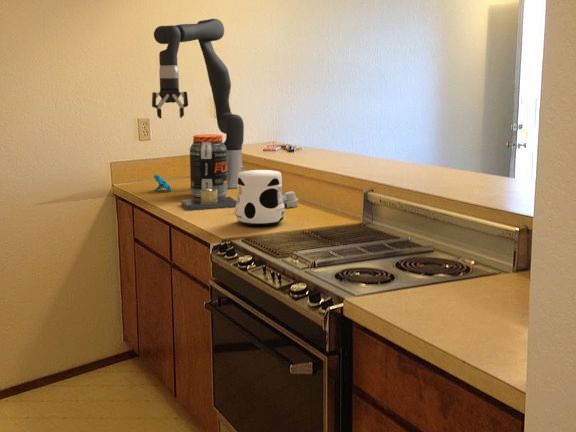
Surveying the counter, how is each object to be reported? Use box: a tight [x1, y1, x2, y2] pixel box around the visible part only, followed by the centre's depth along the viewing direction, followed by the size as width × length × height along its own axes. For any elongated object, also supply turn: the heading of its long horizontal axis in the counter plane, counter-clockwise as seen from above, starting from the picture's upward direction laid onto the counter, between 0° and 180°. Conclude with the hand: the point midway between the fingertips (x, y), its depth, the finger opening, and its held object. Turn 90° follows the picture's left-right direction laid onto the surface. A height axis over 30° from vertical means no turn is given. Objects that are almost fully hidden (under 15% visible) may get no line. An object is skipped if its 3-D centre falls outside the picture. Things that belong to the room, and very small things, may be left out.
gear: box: [153, 173, 172, 193], centre depth 315 cm, size 11×6×10 cm
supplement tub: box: [189, 133, 228, 199], centre depth 302 cm, size 16×16×26 cm
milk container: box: [235, 169, 286, 227], centre depth 249 cm, size 17×17×18 cm
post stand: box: [180, 189, 237, 211], centre depth 282 cm, size 20×12×6 cm, turn 110°
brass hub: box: [200, 188, 218, 202], centre depth 281 cm, size 6×6×4 cm
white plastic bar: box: [282, 190, 299, 209], centre depth 275 cm, size 5×7×25 cm
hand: (170, 117), depth 286 cm, fingers open, 8 cm apart
